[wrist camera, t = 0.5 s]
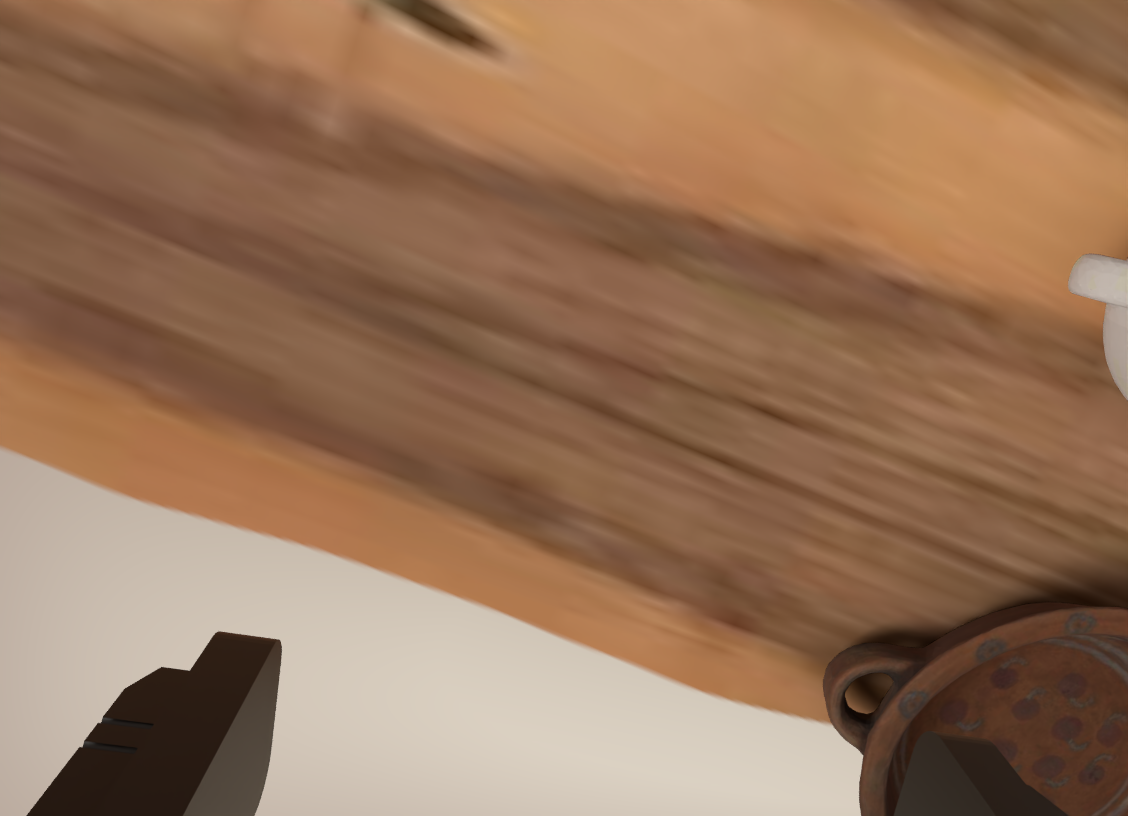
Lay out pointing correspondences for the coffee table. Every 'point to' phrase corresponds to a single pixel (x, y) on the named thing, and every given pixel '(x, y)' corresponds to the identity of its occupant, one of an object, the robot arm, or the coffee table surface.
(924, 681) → the dish
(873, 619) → the coffee table surface
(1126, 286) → the teacup
